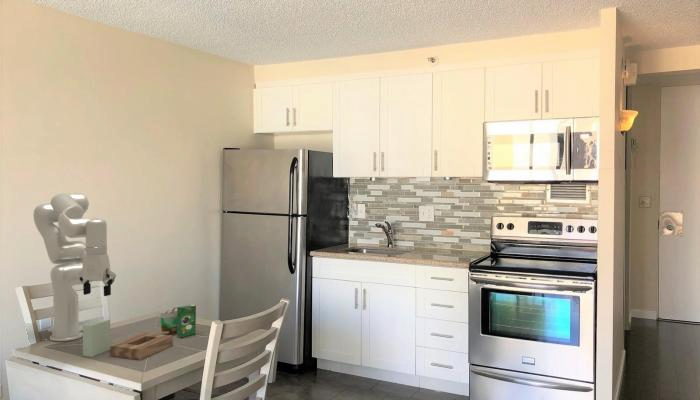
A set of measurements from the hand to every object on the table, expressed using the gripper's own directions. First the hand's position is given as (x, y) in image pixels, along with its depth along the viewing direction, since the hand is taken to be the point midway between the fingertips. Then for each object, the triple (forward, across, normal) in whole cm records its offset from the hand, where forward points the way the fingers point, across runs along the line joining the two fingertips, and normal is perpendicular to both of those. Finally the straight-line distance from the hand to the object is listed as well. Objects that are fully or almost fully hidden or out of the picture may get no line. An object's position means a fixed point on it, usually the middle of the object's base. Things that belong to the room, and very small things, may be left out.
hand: (97, 294), depth 222 cm
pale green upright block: (+23, 0, 0) cm, 23 cm away
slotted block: (+23, +15, +8) cm, 28 cm away
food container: (+23, +11, +34) cm, 42 cm away
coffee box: (+23, +19, +32) cm, 43 cm away
